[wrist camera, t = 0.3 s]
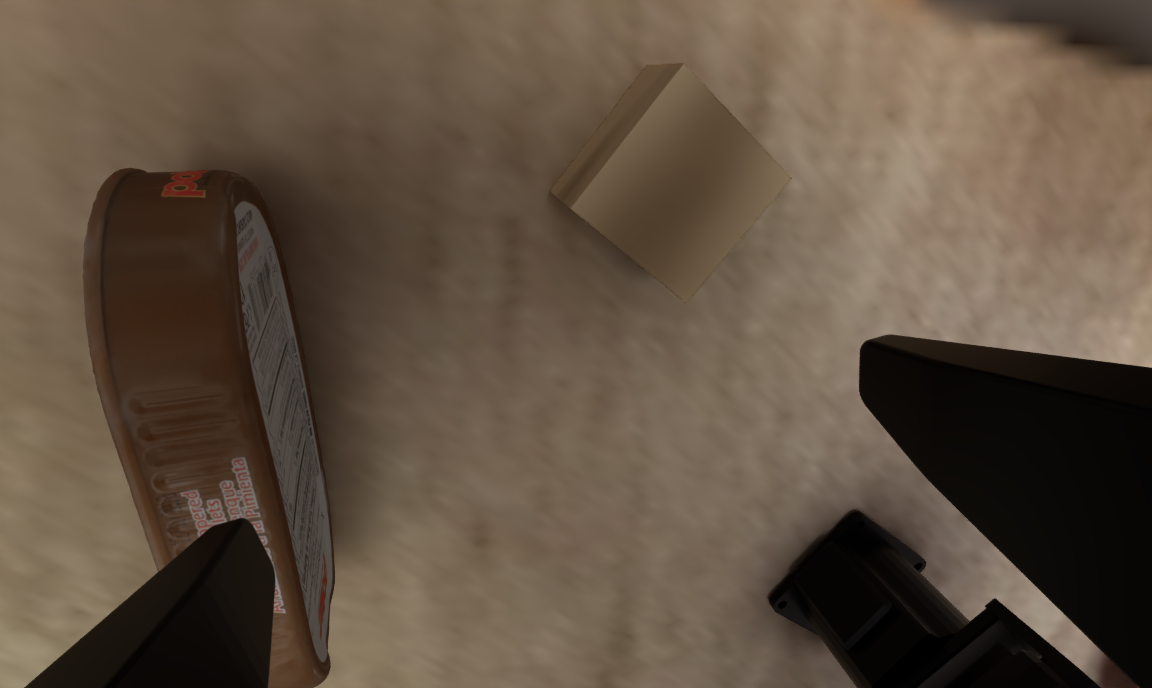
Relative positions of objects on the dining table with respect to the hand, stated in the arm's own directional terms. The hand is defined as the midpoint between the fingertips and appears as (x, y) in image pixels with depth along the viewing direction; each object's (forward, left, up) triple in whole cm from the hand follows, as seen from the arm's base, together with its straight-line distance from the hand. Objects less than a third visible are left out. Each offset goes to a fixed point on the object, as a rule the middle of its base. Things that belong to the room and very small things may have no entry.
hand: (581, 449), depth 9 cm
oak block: (-3, -5, -13) cm, 15 cm away
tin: (+2, +8, -13) cm, 16 cm away
